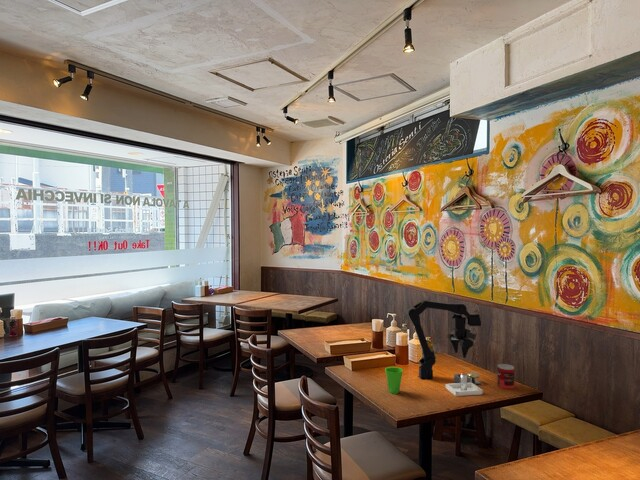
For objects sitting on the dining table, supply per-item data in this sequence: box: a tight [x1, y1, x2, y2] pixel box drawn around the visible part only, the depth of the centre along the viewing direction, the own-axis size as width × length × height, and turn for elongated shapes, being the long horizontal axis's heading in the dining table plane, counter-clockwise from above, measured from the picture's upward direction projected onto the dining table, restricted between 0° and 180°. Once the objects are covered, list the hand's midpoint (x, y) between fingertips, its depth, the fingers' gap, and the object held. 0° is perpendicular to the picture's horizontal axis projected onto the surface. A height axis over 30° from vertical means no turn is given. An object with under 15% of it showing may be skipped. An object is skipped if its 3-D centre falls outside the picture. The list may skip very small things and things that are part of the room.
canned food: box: [496, 363, 515, 391], centre depth 208 cm, size 8×8×11 cm
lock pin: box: [460, 372, 468, 391], centre depth 202 cm, size 3×3×9 cm
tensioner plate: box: [452, 371, 485, 386], centre depth 214 cm, size 13×9×5 cm
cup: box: [384, 366, 404, 395], centre depth 203 cm, size 9×9×11 cm
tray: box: [445, 382, 484, 397], centre depth 202 cm, size 14×11×2 cm
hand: (460, 355), depth 221 cm, fingers open, 9 cm apart
